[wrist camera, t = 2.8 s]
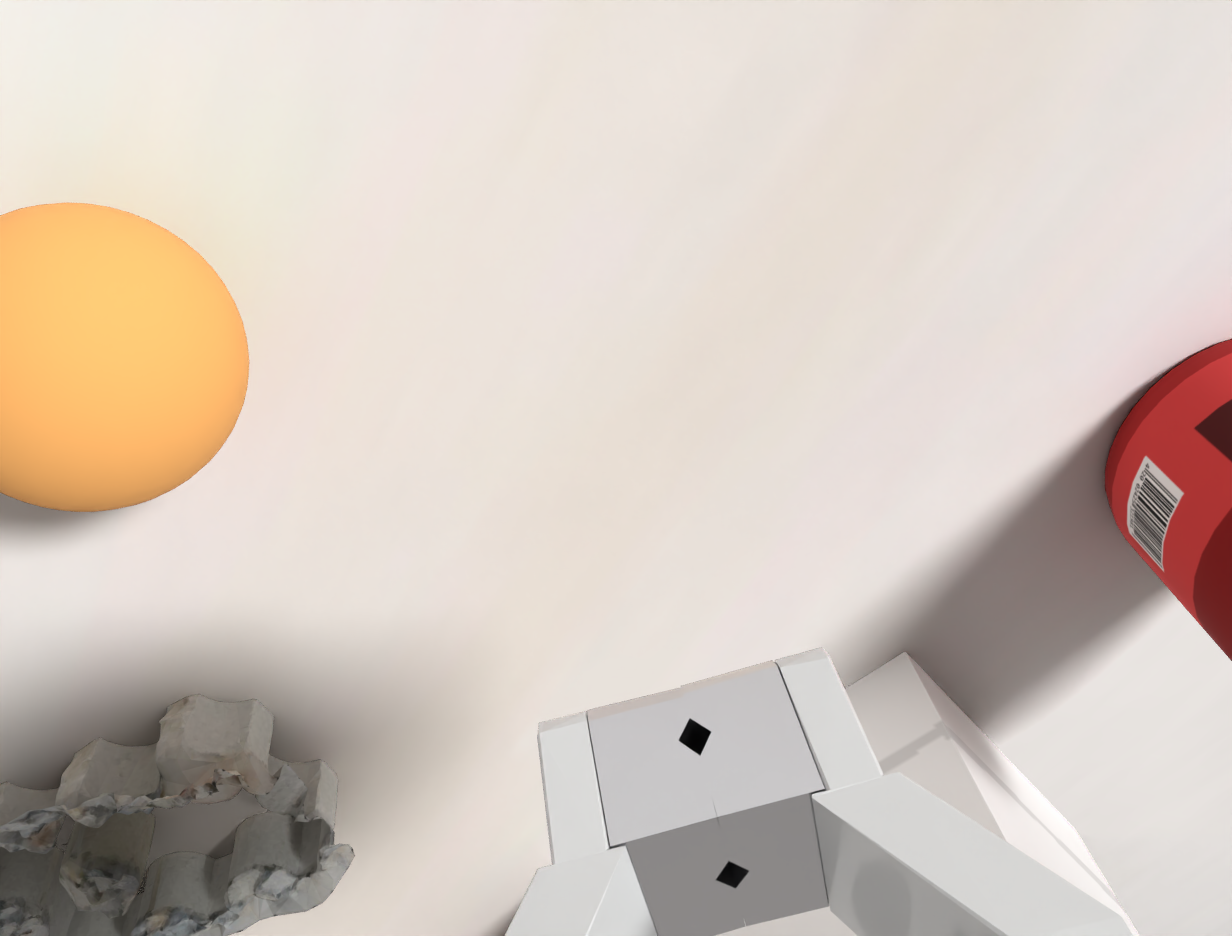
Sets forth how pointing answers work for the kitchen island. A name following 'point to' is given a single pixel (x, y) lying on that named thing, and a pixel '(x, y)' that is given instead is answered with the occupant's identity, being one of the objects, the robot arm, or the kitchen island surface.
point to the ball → (110, 358)
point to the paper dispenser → (953, 785)
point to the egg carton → (123, 829)
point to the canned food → (1182, 485)
